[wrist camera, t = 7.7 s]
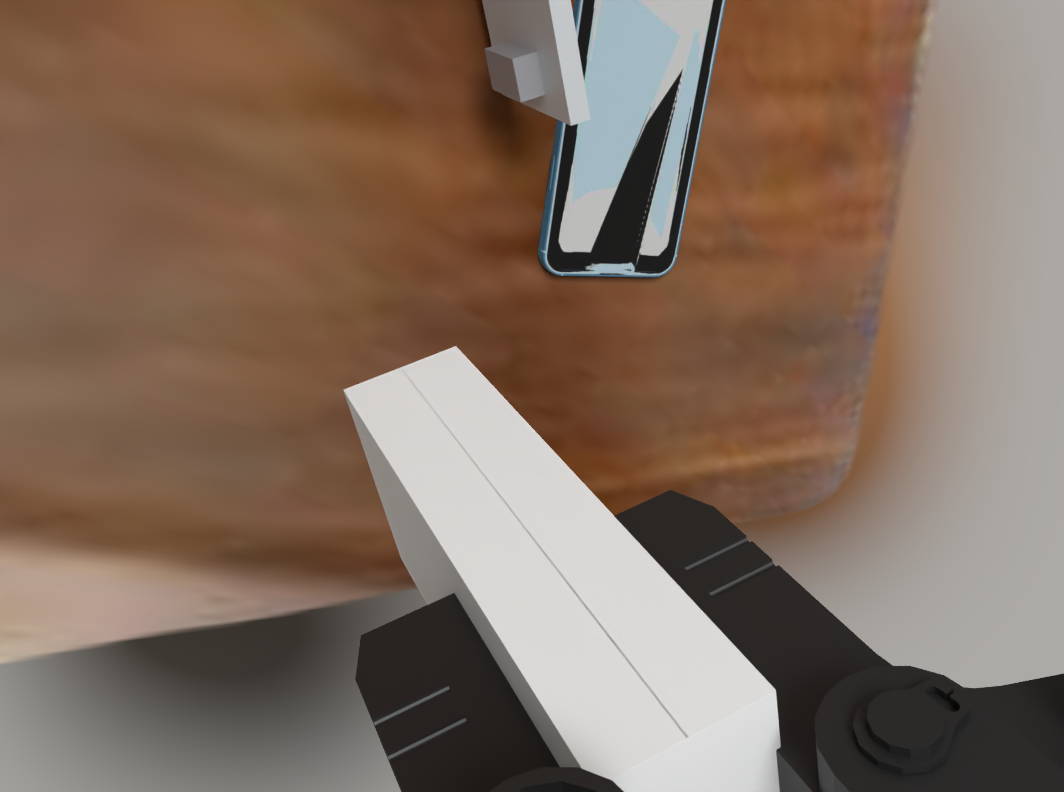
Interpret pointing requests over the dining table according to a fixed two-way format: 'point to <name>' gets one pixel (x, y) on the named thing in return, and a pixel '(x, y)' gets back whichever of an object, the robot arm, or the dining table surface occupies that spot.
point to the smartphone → (630, 137)
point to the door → (537, 56)
